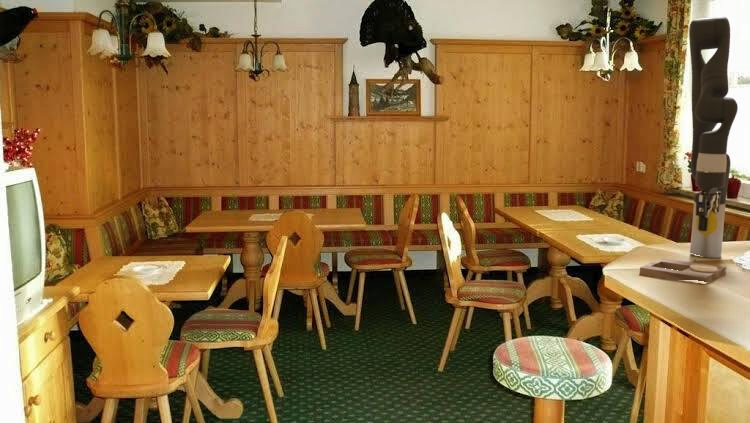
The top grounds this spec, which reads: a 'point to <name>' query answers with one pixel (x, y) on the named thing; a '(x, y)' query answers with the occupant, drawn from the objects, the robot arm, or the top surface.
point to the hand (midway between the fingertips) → (706, 229)
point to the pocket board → (679, 270)
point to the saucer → (703, 268)
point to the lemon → (709, 224)
